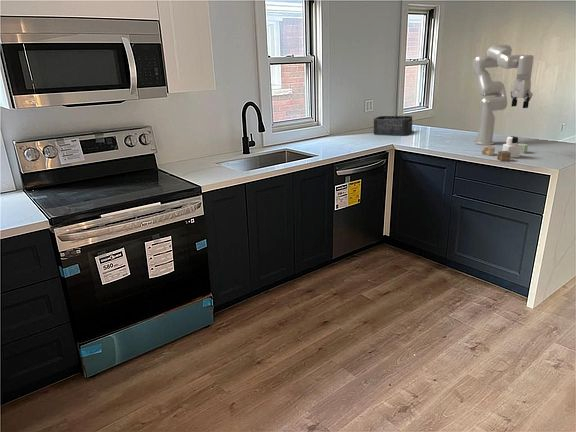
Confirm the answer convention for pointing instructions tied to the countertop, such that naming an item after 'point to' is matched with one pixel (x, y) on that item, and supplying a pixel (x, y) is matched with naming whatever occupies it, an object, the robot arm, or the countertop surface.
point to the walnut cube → (503, 156)
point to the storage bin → (383, 121)
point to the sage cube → (523, 148)
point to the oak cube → (488, 150)
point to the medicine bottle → (512, 146)
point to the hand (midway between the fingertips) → (519, 107)
